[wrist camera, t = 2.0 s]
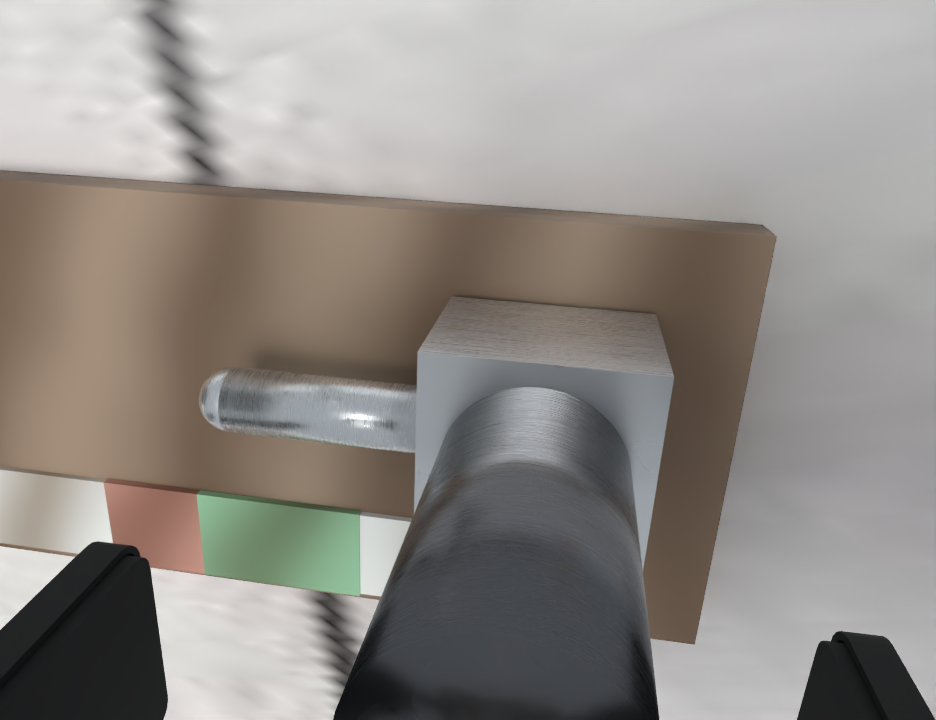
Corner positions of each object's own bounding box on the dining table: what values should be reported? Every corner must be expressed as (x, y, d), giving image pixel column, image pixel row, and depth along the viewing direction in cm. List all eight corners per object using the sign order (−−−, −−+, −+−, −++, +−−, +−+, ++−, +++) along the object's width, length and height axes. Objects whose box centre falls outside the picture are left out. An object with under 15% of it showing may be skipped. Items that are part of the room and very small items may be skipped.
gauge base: (762, 224, 18) (867, 313, 11) (687, 610, 23) (732, 842, 16) (-211, 155, 22) (-583, 190, 15) (-113, 500, 26) (-365, 652, 19)
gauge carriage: (656, 314, 18) (748, 634, 7) (611, 616, 21) (634, 1122, 11) (231, 277, 19) (-178, 505, 9) (253, 567, 22) (-26, 974, 12)
